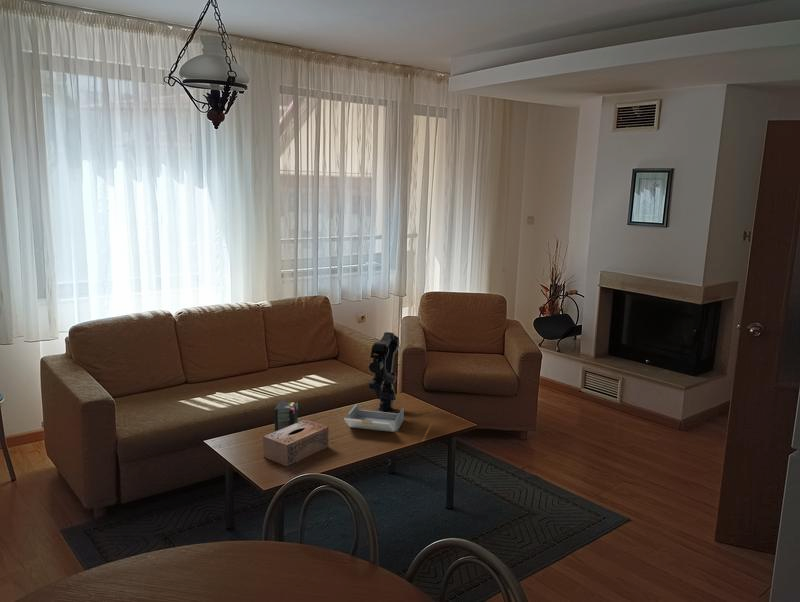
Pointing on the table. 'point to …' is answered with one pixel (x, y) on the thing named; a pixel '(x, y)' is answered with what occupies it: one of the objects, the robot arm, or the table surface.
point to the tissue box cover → (295, 442)
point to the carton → (378, 416)
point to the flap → (369, 424)
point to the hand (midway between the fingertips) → (379, 397)
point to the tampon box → (285, 414)
